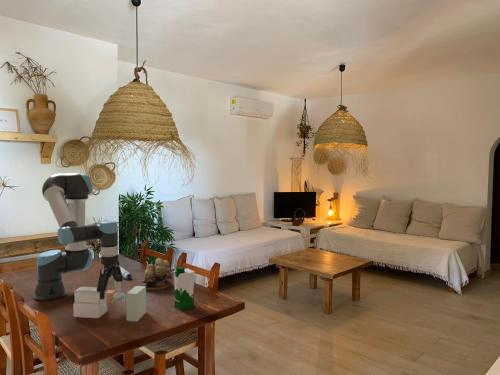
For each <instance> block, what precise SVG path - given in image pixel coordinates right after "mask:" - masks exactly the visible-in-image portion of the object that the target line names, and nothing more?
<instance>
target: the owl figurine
mask: <svg viewBox="0 0 500 375" xmlns="http://www.w3.org/2000/svg"><path fill="white" fill-rule="evenodd" d="M154 262H155V265H154V264H152V263H149V264H147V266H146V269H145V270H144V276H143V278H144V279H143V280H142V281H141V283H142V284H145V285H144V286H146V293H154V292H162V291H166V290H168V288H169V289H170V288H172V287H173V283H172V282H171V281H169V279H171V278H172V276H174V272H173V271H171V268H170V262H169V261H168V260H166V259H165V260H163V259H162V258H156V259H155V261H154Z"/></svg>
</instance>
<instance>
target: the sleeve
mask: <svg viewBox="0 0 500 375" xmlns="http://www.w3.org/2000/svg"><path fill="white" fill-rule="evenodd" d="M73 294H74V302H73V317H74V318H85V319H86V318H89V319H91V318H92V319H99V318H101V317H102V316H104V314H106V313H107V312H108V305H107V306H100V292H97V286H79V287H78V288H77V289H75V290H74V293H73Z"/></svg>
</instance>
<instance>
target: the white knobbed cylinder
mask: <svg viewBox="0 0 500 375" xmlns="http://www.w3.org/2000/svg"><path fill="white" fill-rule="evenodd" d="M119 266H120V265H119ZM120 269H121V273H122V276H123V279H125V280H126V281H128V280H131V279H132V276H133V275H132V274H131V272H130V271H129V270H128V271H127V270H126V269H125V268H123V267H122V266H120Z"/></svg>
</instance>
